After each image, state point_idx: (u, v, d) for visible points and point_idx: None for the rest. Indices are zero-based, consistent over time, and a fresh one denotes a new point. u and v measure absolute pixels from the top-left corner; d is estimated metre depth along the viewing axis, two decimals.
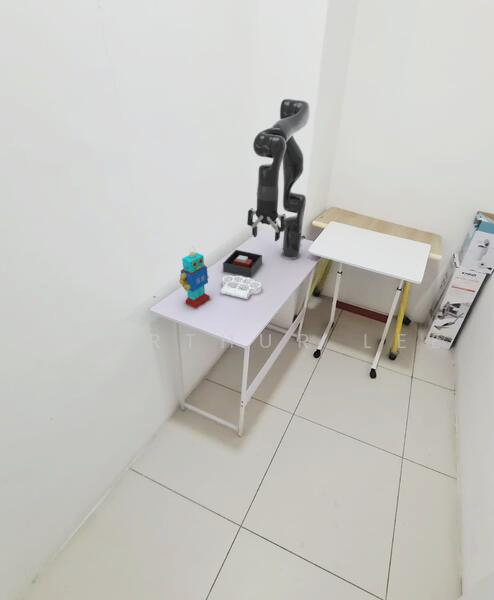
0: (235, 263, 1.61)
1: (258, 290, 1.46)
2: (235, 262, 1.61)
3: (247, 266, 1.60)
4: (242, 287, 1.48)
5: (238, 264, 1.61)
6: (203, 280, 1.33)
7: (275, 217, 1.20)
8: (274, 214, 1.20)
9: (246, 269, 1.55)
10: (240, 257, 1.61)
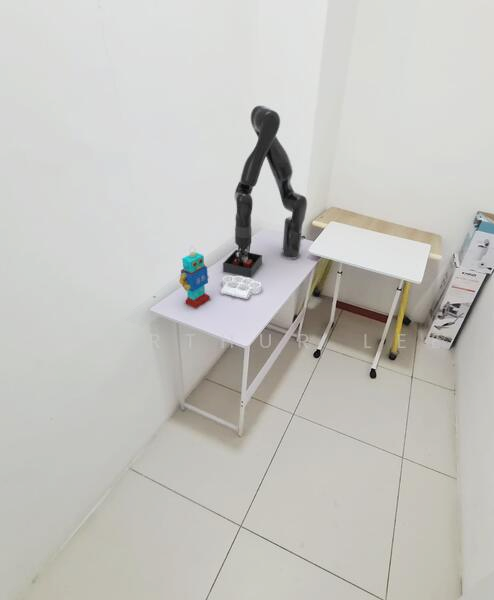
0: (235, 263, 1.61)
1: (258, 290, 1.46)
2: (235, 262, 1.61)
3: (247, 266, 1.60)
4: (242, 287, 1.48)
5: (238, 264, 1.61)
6: (203, 280, 1.33)
7: (238, 249, 1.55)
8: (238, 247, 1.54)
9: (246, 269, 1.55)
10: None
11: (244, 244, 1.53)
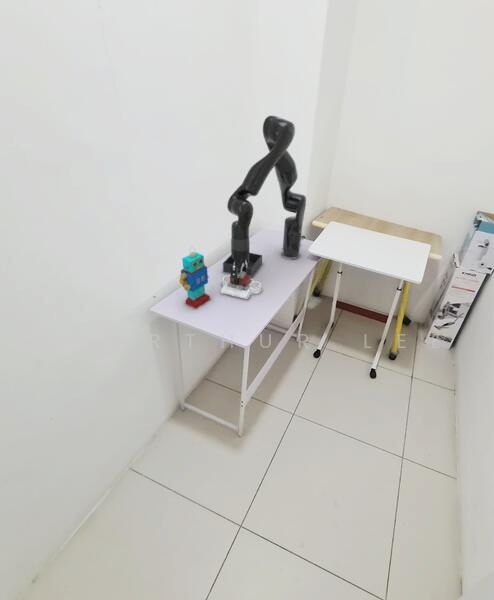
0: (231, 279, 1.44)
1: (258, 290, 1.46)
2: (231, 278, 1.44)
3: (245, 282, 1.43)
4: (242, 287, 1.48)
5: None
6: (203, 280, 1.33)
7: None
8: None
9: None
10: None
11: (241, 258, 1.36)
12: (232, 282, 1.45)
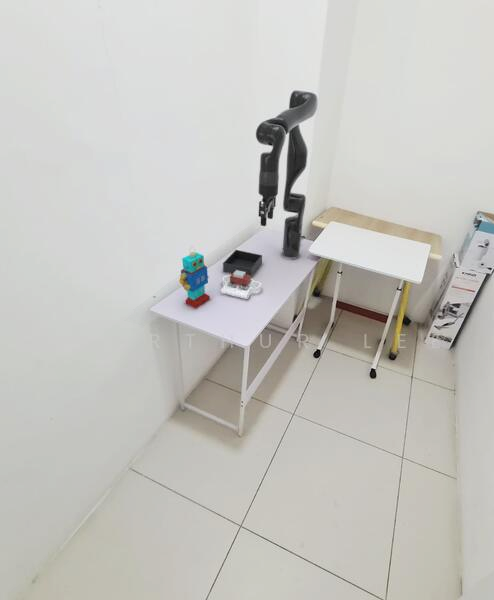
0: (231, 279, 1.44)
1: (258, 290, 1.46)
2: (231, 278, 1.44)
3: (245, 282, 1.43)
4: (242, 287, 1.48)
5: (235, 280, 1.44)
6: (203, 280, 1.33)
7: None
8: None
9: (246, 269, 1.55)
10: (237, 272, 1.44)
11: (270, 194, 1.27)
12: (232, 282, 1.45)
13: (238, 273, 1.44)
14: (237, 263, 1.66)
